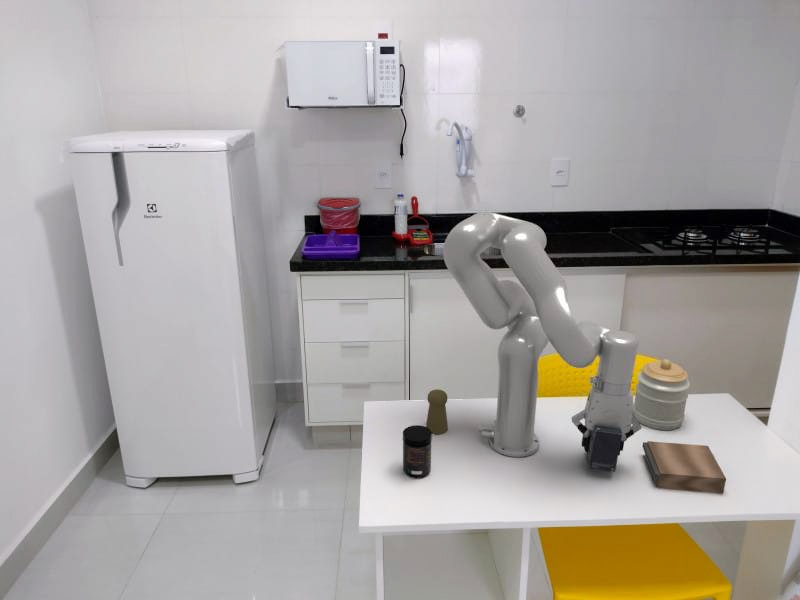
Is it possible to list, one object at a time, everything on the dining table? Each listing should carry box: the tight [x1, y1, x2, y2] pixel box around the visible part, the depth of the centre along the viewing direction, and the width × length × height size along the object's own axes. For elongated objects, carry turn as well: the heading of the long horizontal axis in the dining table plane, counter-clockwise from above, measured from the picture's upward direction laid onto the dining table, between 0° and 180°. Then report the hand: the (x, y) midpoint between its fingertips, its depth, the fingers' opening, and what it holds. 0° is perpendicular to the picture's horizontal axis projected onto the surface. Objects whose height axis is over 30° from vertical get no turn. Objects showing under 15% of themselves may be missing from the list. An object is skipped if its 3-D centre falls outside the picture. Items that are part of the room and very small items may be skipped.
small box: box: [585, 426, 622, 473], centre depth 147 cm, size 11×6×10 cm, turn 169°
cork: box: [425, 389, 449, 436], centre depth 163 cm, size 6×6×11 cm
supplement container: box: [402, 424, 433, 479], centre depth 146 cm, size 7×7×10 cm
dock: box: [641, 440, 727, 494], centre depth 146 cm, size 15×13×4 cm
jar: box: [632, 358, 691, 431], centre depth 167 cm, size 13×13×18 cm
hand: (601, 449), depth 148 cm, fingers closed on small box, 6 cm apart
